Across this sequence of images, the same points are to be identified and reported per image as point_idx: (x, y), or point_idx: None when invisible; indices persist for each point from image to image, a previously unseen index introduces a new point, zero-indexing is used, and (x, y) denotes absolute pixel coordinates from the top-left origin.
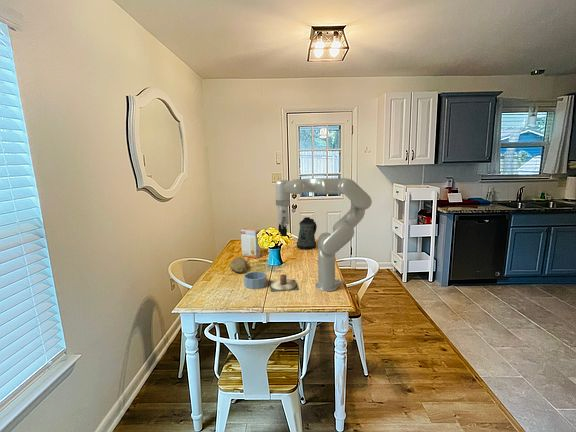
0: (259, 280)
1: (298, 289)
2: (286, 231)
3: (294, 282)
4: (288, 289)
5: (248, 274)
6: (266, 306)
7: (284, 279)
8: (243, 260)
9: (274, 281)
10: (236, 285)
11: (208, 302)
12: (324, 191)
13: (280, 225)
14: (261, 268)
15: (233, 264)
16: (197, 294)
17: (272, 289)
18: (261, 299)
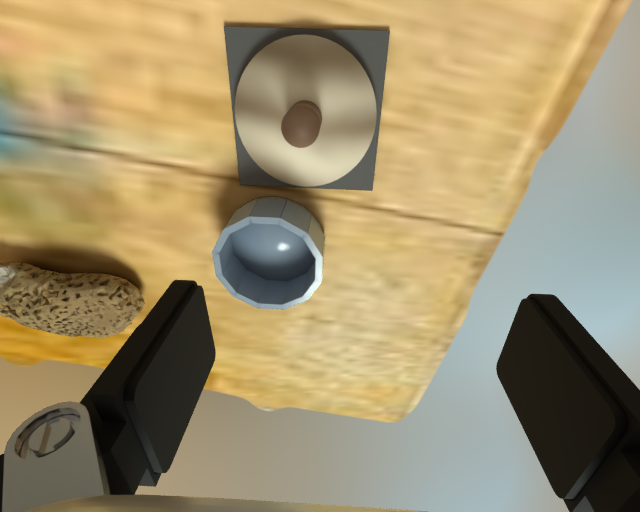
0: (321, 250)
1: (381, 36)
2: (612, 371)
3: (296, 45)
4: (375, 101)
5: (236, 287)
6: (498, 222)
7: (319, 120)
8: (32, 291)
9: (265, 161)
10: None
11: (390, 375)
12: None
13: (148, 456)
14: (54, 196)
15: (104, 331)
16: (323, 397)
17: (345, 180)
18: (427, 233)
